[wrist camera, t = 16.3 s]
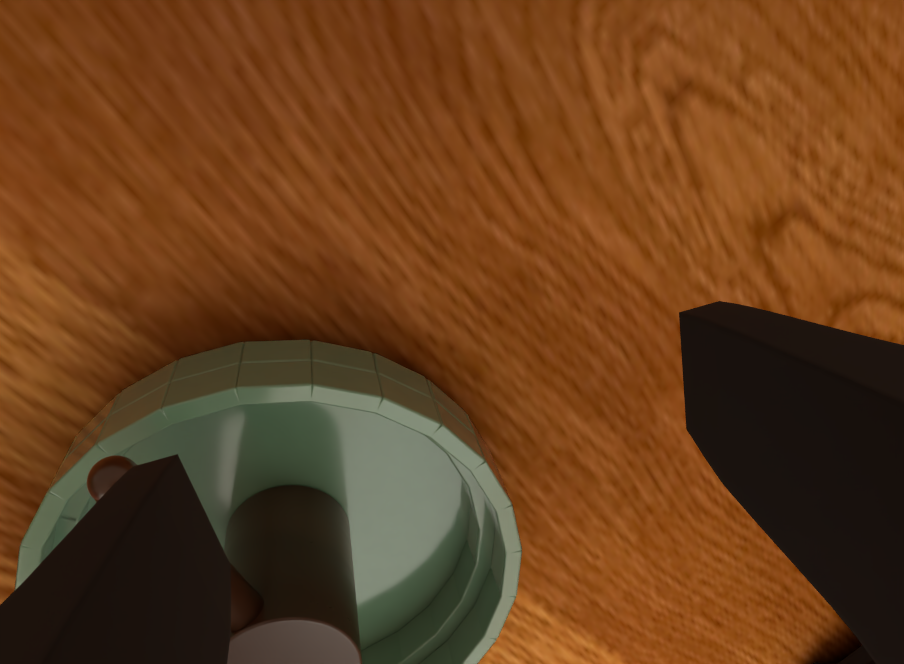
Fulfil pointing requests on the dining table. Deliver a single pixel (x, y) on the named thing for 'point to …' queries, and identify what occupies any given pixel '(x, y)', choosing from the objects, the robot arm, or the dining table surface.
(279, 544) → the scoop
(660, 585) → the dining table surface
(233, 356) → the green bowl
